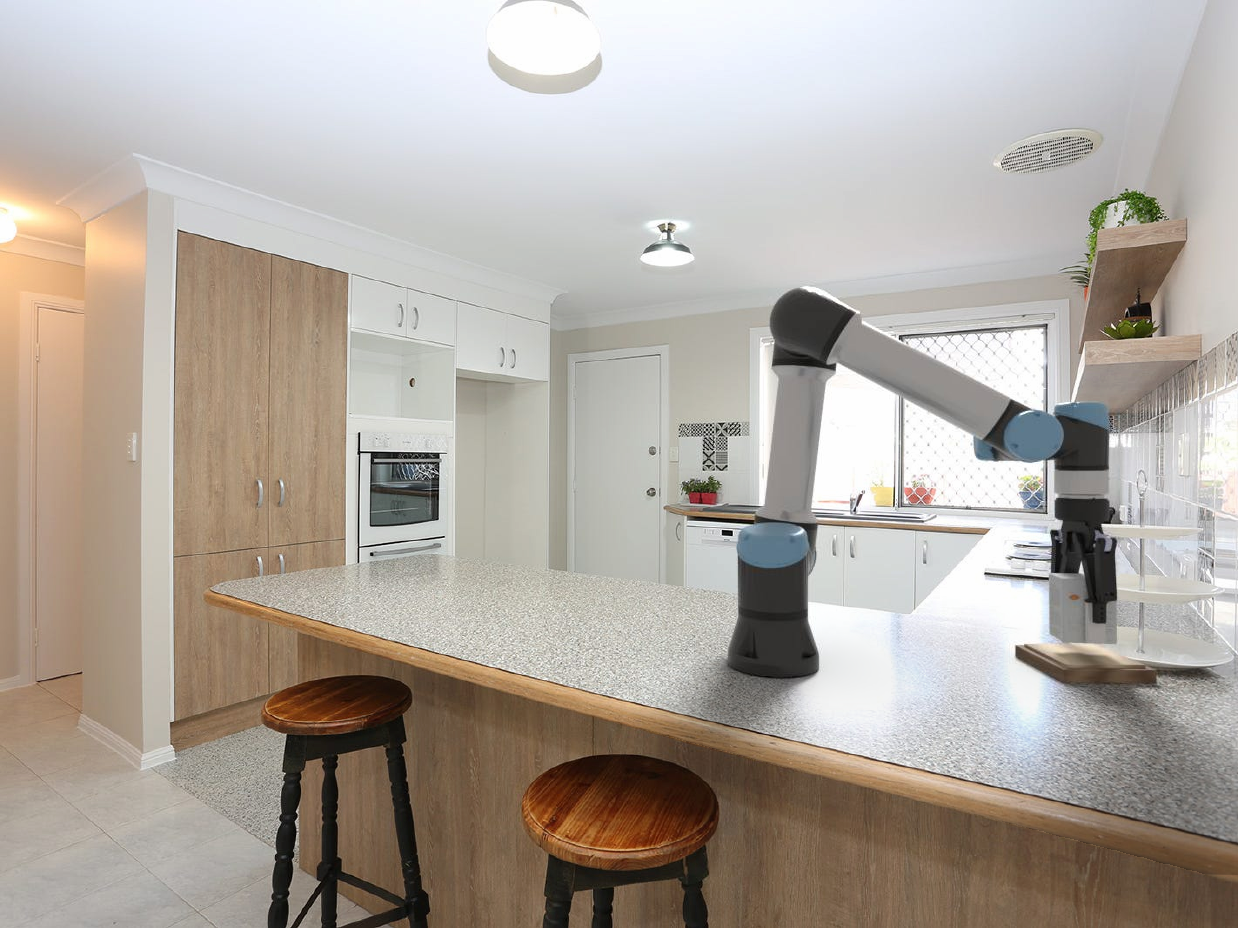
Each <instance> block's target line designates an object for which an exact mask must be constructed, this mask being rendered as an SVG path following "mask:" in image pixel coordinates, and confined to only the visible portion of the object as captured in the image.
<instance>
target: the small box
mask: <svg viewBox="0 0 1238 928" xmlns="http://www.w3.org/2000/svg"><path fill="white" fill-rule="evenodd" d="M1084 599H1089V597H1088V592H1087V587H1086V581H1085V576H1084V573H1081V572H1080V573H1051V572H1049V573H1048V605H1049V606H1048V610H1049V612H1048V613H1049V616H1048V617H1049V619H1048V620H1049V623H1048V624H1049V628H1048V629H1049V634H1050V636H1052V637H1054V638H1055V639H1058V640H1059V642H1062V643H1063V644H1087V643H1086V642H1085V600H1084ZM1117 601H1118V600H1116V601H1111V602H1108V603H1107V605H1106V643H1094V644H1096V645H1099V644H1100V645H1101V644H1102V645H1116V644H1117V643H1118V631H1117V630H1118V626H1117V625H1118V621H1117V618H1118V616H1117V612H1118V611H1117V610H1118V609H1117Z"/></svg>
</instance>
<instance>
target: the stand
mask: <svg viewBox="0 0 1238 928" xmlns="http://www.w3.org/2000/svg"><path fill="white" fill-rule="evenodd" d="M1014 646H1015V647H1014V649H1015V650H1014V651H1015V653H1014V656H1015V657H1016V658H1018V659H1019V660H1021V661H1023V662H1025V663H1026V664H1028V665H1030V666H1032V667H1034V668H1036V669H1037V670H1040V671H1042V672H1043V673H1044V674H1047V675H1048V676H1051V677H1053V678H1054V679H1056V680H1058V681H1060V682H1062V683H1065V684H1066V683H1067V684H1069V683H1072V684H1076V683H1079V684H1083V683H1084V684H1085V683H1086V684H1099V683H1100V684H1102V683H1103V684H1157V677H1158V675H1157V674H1158V673H1157V670H1158V669H1155V668H1153V667H1150V666H1148V665H1146V664H1144V663H1142V662H1139V661H1137V660H1135V659H1131V658H1129V657H1128V656H1125V655H1123V654H1121V653H1118V652H1116V651H1113V650H1111V649H1108V648H1106V647H1103V646H1101V645H1099V644H1095V643H1024V644H1015V645H1014Z"/></svg>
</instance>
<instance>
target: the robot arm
mask: <svg viewBox="0 0 1238 928" xmlns="http://www.w3.org/2000/svg"><path fill="white" fill-rule="evenodd" d="M769 315H770V316H769V330H770V333H771V336H772V339H773V340H774V342H773V350H772V360H771V361H772V362H771V371H772V372H773V373H774V374H775V375H776V377H777V379H778V381H777V389H776V390H777V391H776V398H775V408H774V416H773V425H772V426H773V427H772V436H771V443H770V451H769V453H770V454H769V461H768V467H767V468H768V470H767V477H766V478H767V479H766V485H765V486H766V488H765V495H764V496H765V497H764V504H763V506H762V507H760V508H759V509H758V510H756V511H755V514H754V519H753V520H754V522H753V524H749V525H746V526H744V527H742V529H741V530H740V531H739V532H738V535H737V536H738V537H737V544H736V554H737V606H738V607H737V618H736V619H737V620H736V623H735V626H734V629H733V632H732V636H731V638H730V640H729V641H730V642H729V644H728V648H727V663H728V665H729V666H730V667H731V668H732V669H735V670H737V671H739V672H742V673H745V674H750V675H752V676H753V675H754V676H759V677H760V676H761V677H766V676H770V677H769V678H793V677H792V676H797V677H802V676H808V675H810V674H813V672H814V673H815V672H817V671H819V669H820V652H819V649H818V646H817V643H816V641H815V636H814V635H813V632H812V629H811V625H810V622H809V576H810V575H811V574H812V571H813V570H814V567H815V565H816V562H817V556H818V555H817V547H816V545H817V536H818V527H819V519H818V518H817V516H816V515H815V514H814V513H813V511H812V506H813V496H814V487H815V481H816V471H817V463H818V462H817V461H818V453H819V445H820V439H821V438H820V436H821V428H822V419H823V410H824V402H825V393H826V383H827V382H828V381H829V380H830V379H831V378H832V377H834V376H835V375H836V373H837V372H836V371H837V364H839V365H841V366H842V367H845V368H846V369H849V370H850V371H852V372H854V373H856V374H858V375H859V376H861V377H863V378H865V379H867V380H869V381H870V382H873V383H875V384H876V385H878V386H880V387H882V388H884V389H886V390H887V391H889V392H891V393H893V394H895V395H897V396H899V397H901V398H903V399H904V400H906V401H908V402H909V403H912V404H913V405H915V406H918V407H919V408H921V409H922V410H924V411H927V412H928V413H930V414H933V415H934V416H936V417H938V418H940V419H941V420H943V421H946V422H947V423H949V424H950V425H952V426H955V427H957V428H958V429H961V430H963V431H964V432H965V433H968V434H969V435H971V436H972V441H973V451H974V452H973V453H974V457H975V458H976V459H977V460H979V461H985V462H995V463H996V462H997V463H998V462H1023V463H1029V464H1033V463H1039V462H1042V461H1053V464H1054V472H1053V473H1054V481H1053V482H1054V485H1053V486H1054V487H1053V489H1054V490H1053V493H1054V494H1056V495H1058V496H1057V497H1055V499H1054V518H1055V520H1058V521H1062V524H1061V527H1060V529H1059V528H1058V529H1057V528H1055V529H1053V528H1052V529H1050V532H1049V535H1050V541H1051V552H1050V553H1051V555H1050V573H1079V572H1080V568H1081V565H1082V571H1083V574H1084V576H1085V581H1086V587H1087V592H1088V597H1089V599H1084V600H1085V642H1086V643H1085V644H1095V643H1106V605H1107V603H1108V602H1111V601H1118V584H1117V565H1116V564H1117V563H1116V550H1117V544H1118V540H1117V538H1115V537H1108V536H1106V535H1104V529H1103V523H1105V522H1108V521H1109V520H1110V515H1111V514H1110V511H1111V510H1110V502H1111V501H1110V500H1109V499H1108V498H1105V496H1107V495H1109V494H1110V476H1109V475H1110V472H1109V471H1110V466H1109V465H1110V464H1109V463H1110V432H1111V428H1110V415H1109V407H1108V405H1106V404H1105V403H1104V402H1100V401H1073V402H1070V401H1069V402H1061V403H1057V404H1055V406H1054V408H1053V412H1052V414H1051V413H1048V412H1046V411H1043V410H1042V409H1041V410H1039V409H1033V408H1030V407H1029V406H1027V405H1025V404H1023V403H1021V402H1019V401H1017V400H1015V399H1012V398H1011V397H1009V396H1007V395H1006V394H1003V393H1001V392H1000V391H998V390H996V389H994V388H992V387H990V386H988V385H986V384H984V383H982V382H980V381H978V380H977V379H975V378H973V377H971V376H969V375H967V374H965V373H964V372H961V371H960V370H957V369H955V368H953V367H952V366H950V365H947V364H946V363H944V362H941V361H940V360H938V359H936V358H934V357H932V356H930V355H928V354H927V353H924V352H923V351H920V350H919V349H917V348H914V347H913V346H910V345H909V344H907V343H905V342H904V341H901V340H899V339H897V338H896V337H894V336H892V335H889V334H888V333H886V332H883V330H880V329H878V328H876V327H874V326H872V325H870V324H868V323H867V322H865V321H863V319H862V316H861V313H860V311H859V310H856V309H854V308H852V307H850V306H848V305H847V304H845V303H843V302H841V301H840V300H838V299H837V298H836V297H833V296H832V295H830V294H828V293H827V292H826V291H824V290H822V289H819V288H816V287H812V286H811V287H810V286H800V287H796V288H794V289H791V290H788V291H787V292H785V293H784V294H782V296H780V297H779V298H778V299H777V300H776V302H775V304H774V305H773V307H772V309H771V312H770V314H769ZM816 670H817V671H816ZM771 676H772V677H771ZM790 676H791V677H790Z"/></svg>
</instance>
